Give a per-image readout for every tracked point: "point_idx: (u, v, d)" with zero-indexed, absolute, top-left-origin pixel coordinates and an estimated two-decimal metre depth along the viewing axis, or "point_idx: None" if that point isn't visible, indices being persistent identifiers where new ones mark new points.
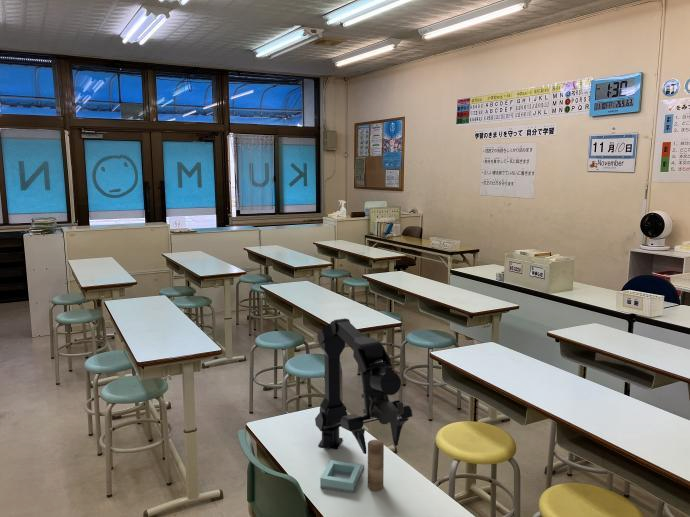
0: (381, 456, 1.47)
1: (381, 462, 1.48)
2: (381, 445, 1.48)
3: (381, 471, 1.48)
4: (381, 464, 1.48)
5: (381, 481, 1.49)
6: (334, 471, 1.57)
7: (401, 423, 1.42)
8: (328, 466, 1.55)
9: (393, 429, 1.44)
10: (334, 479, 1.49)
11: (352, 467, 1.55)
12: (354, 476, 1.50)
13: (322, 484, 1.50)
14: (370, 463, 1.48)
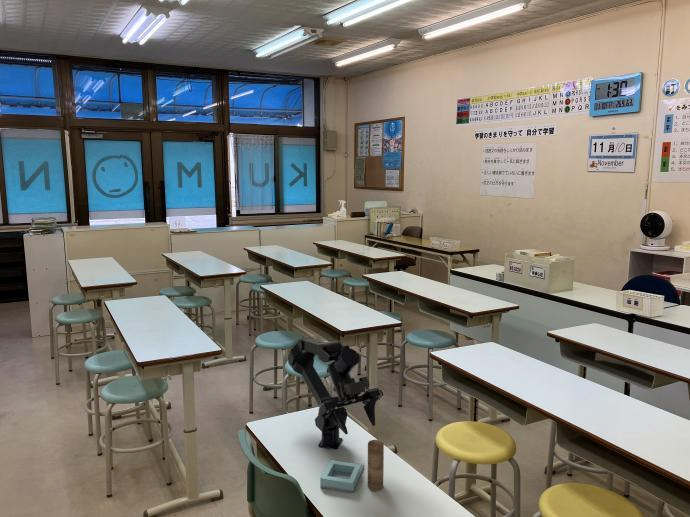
0: (381, 456, 1.47)
1: (381, 462, 1.48)
2: (381, 445, 1.48)
3: (381, 471, 1.48)
4: (381, 464, 1.48)
5: (381, 481, 1.49)
6: (334, 471, 1.57)
7: (373, 402, 1.59)
8: (328, 466, 1.55)
9: (368, 413, 1.60)
10: (334, 479, 1.49)
11: (352, 467, 1.55)
12: (354, 476, 1.50)
13: (322, 484, 1.50)
14: (370, 463, 1.48)
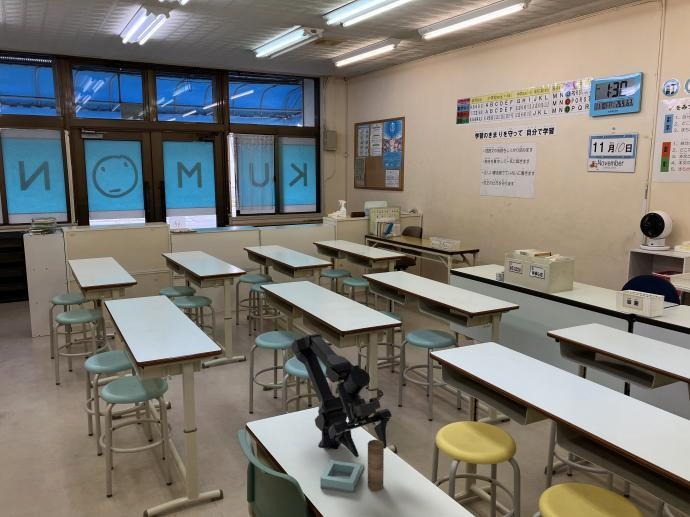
0: (381, 456, 1.47)
1: (381, 462, 1.48)
2: (381, 445, 1.48)
3: (381, 471, 1.48)
4: (381, 464, 1.48)
5: (381, 481, 1.49)
6: (334, 471, 1.57)
7: (383, 424, 1.55)
8: (328, 466, 1.55)
9: (379, 434, 1.56)
10: (334, 479, 1.49)
11: (352, 467, 1.55)
12: (354, 476, 1.50)
13: (322, 484, 1.50)
14: (370, 463, 1.48)
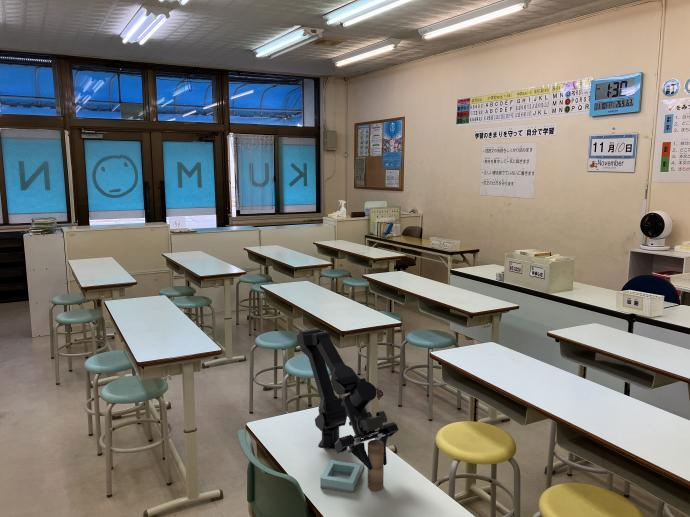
0: (381, 456, 1.47)
1: (381, 462, 1.48)
2: (381, 445, 1.48)
3: (381, 471, 1.48)
4: (381, 464, 1.48)
5: (381, 481, 1.49)
6: (334, 471, 1.57)
7: (384, 440, 1.51)
8: (328, 466, 1.55)
9: None
10: (334, 479, 1.49)
11: (352, 467, 1.55)
12: (354, 476, 1.50)
13: (322, 484, 1.50)
14: None
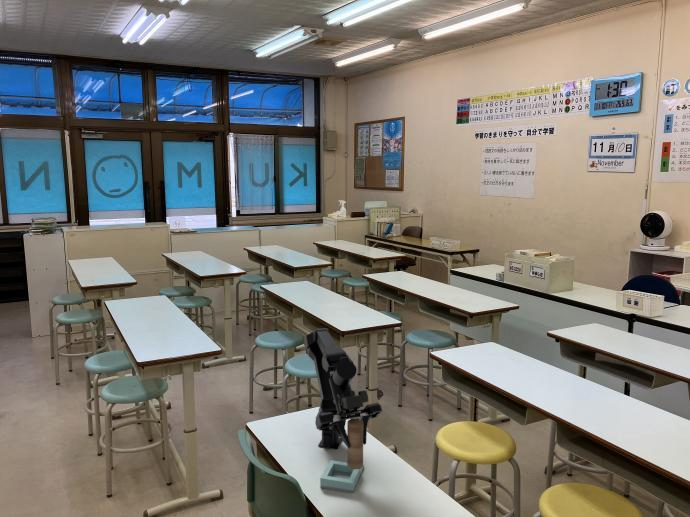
0: (360, 435, 1.47)
1: (360, 441, 1.48)
2: (360, 424, 1.47)
3: (360, 450, 1.48)
4: (360, 443, 1.48)
5: (360, 460, 1.49)
6: (334, 471, 1.57)
7: (365, 419, 1.51)
8: (328, 466, 1.55)
9: None
10: (334, 479, 1.49)
11: None
12: (354, 476, 1.50)
13: (322, 484, 1.50)
14: (349, 441, 1.48)
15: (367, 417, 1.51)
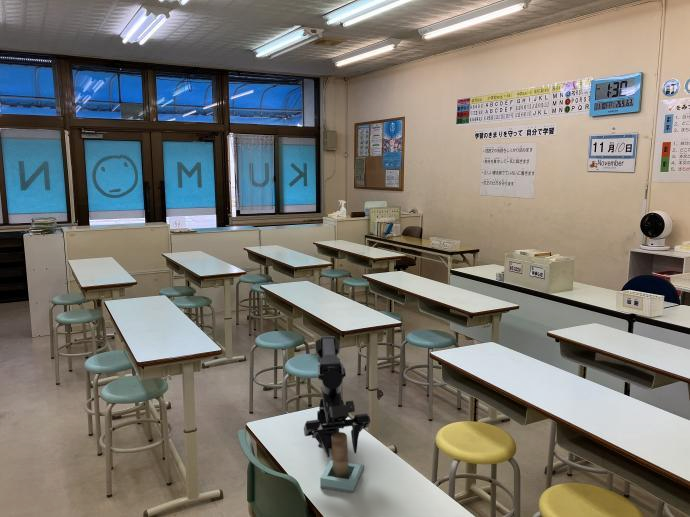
0: (343, 449, 1.50)
1: (343, 455, 1.50)
2: (343, 438, 1.50)
3: (344, 463, 1.50)
4: (343, 457, 1.50)
5: (344, 473, 1.51)
6: None
7: (357, 428, 1.53)
8: (328, 466, 1.55)
9: (352, 439, 1.54)
10: (334, 479, 1.49)
11: (352, 467, 1.55)
12: (354, 476, 1.50)
13: (322, 484, 1.50)
14: (333, 454, 1.51)
15: (359, 426, 1.53)
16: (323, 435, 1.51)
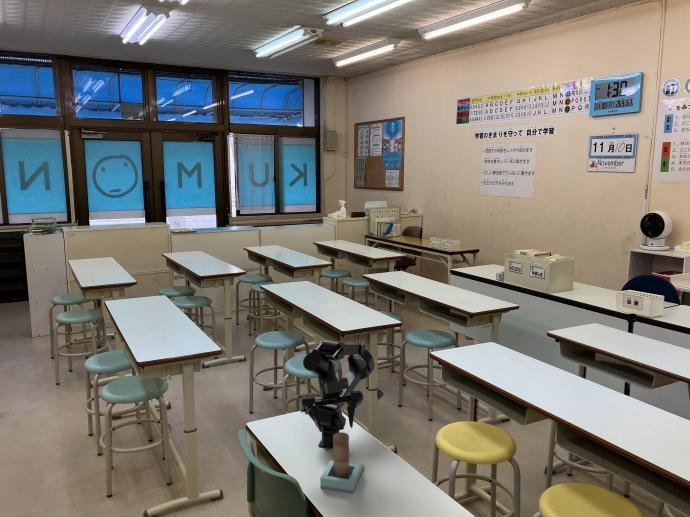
0: (344, 449, 1.50)
1: (344, 455, 1.50)
2: (345, 438, 1.50)
3: (345, 464, 1.51)
4: (344, 457, 1.50)
5: (345, 474, 1.51)
6: None
7: (353, 404, 1.60)
8: (328, 466, 1.55)
9: (349, 414, 1.61)
10: (334, 479, 1.49)
11: (352, 467, 1.55)
12: (354, 476, 1.50)
13: (322, 484, 1.50)
14: (334, 454, 1.51)
15: (355, 402, 1.60)
16: (316, 411, 1.57)
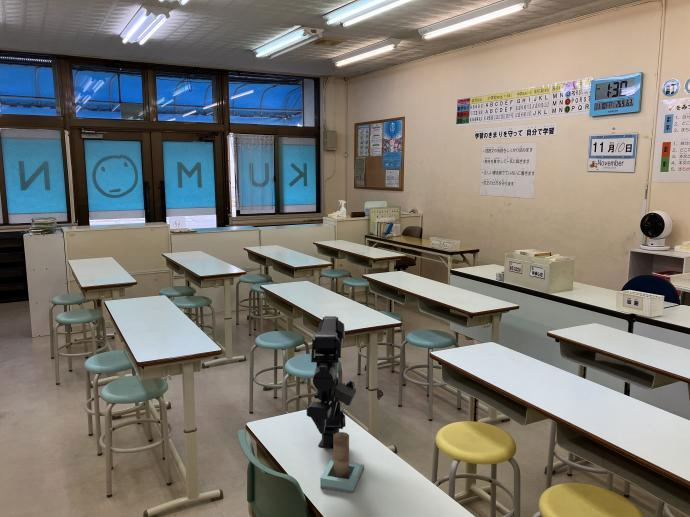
0: (345, 449, 1.50)
1: (345, 454, 1.50)
2: (345, 438, 1.50)
3: (345, 463, 1.51)
4: (345, 456, 1.50)
5: (345, 473, 1.51)
6: None
7: None
8: (328, 466, 1.55)
9: (329, 405, 1.62)
10: (334, 479, 1.49)
11: (352, 467, 1.55)
12: (354, 476, 1.50)
13: (322, 484, 1.50)
14: (334, 454, 1.51)
15: None
16: None
